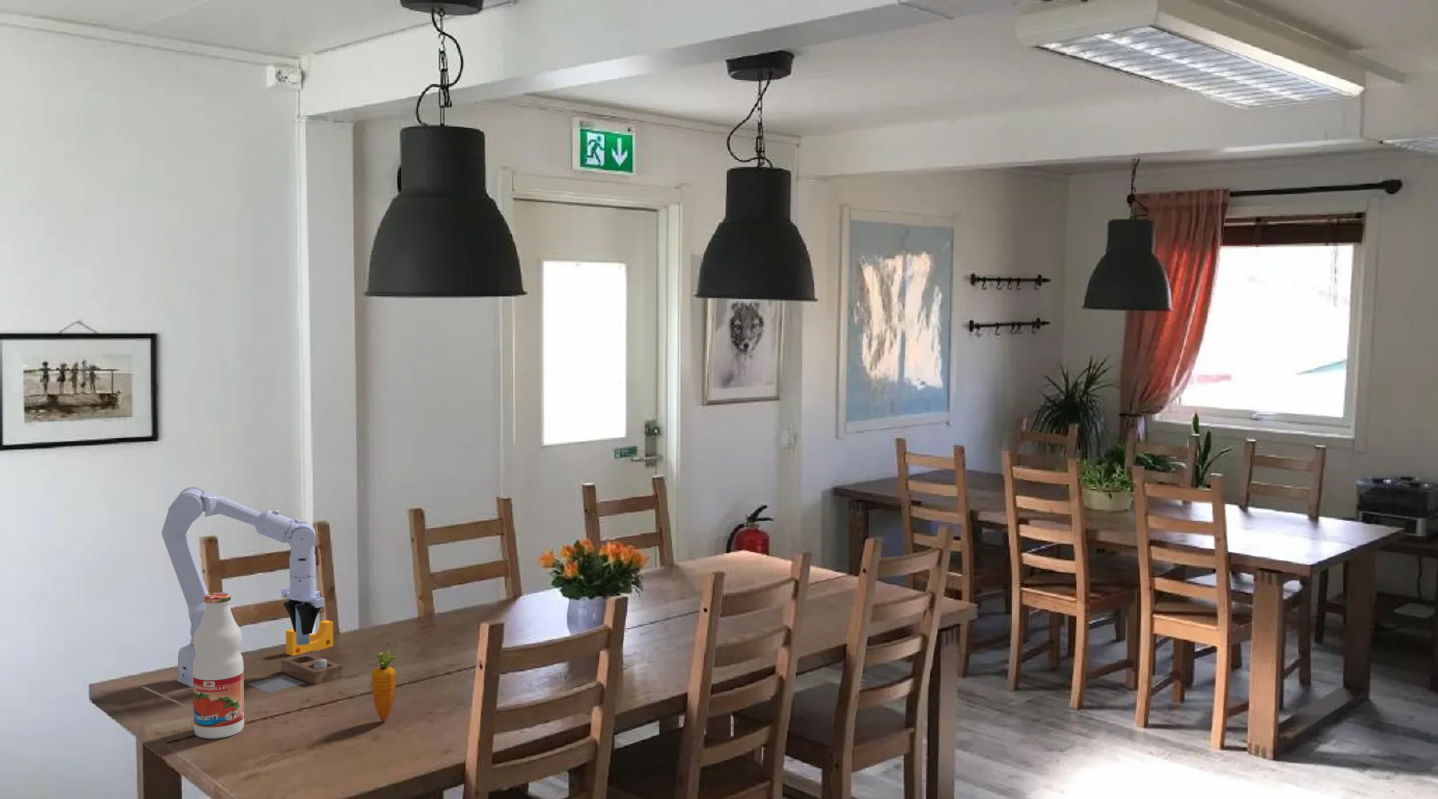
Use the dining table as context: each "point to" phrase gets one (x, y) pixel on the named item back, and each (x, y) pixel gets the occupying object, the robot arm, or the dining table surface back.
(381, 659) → the carrot
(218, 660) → the white yogurt drink bottle
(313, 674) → the hole block
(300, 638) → the dowel
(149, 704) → the dining table surface
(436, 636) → the dining table surface
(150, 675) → the dining table surface
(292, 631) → the pipe clamp
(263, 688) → the mat
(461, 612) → the dining table surface
